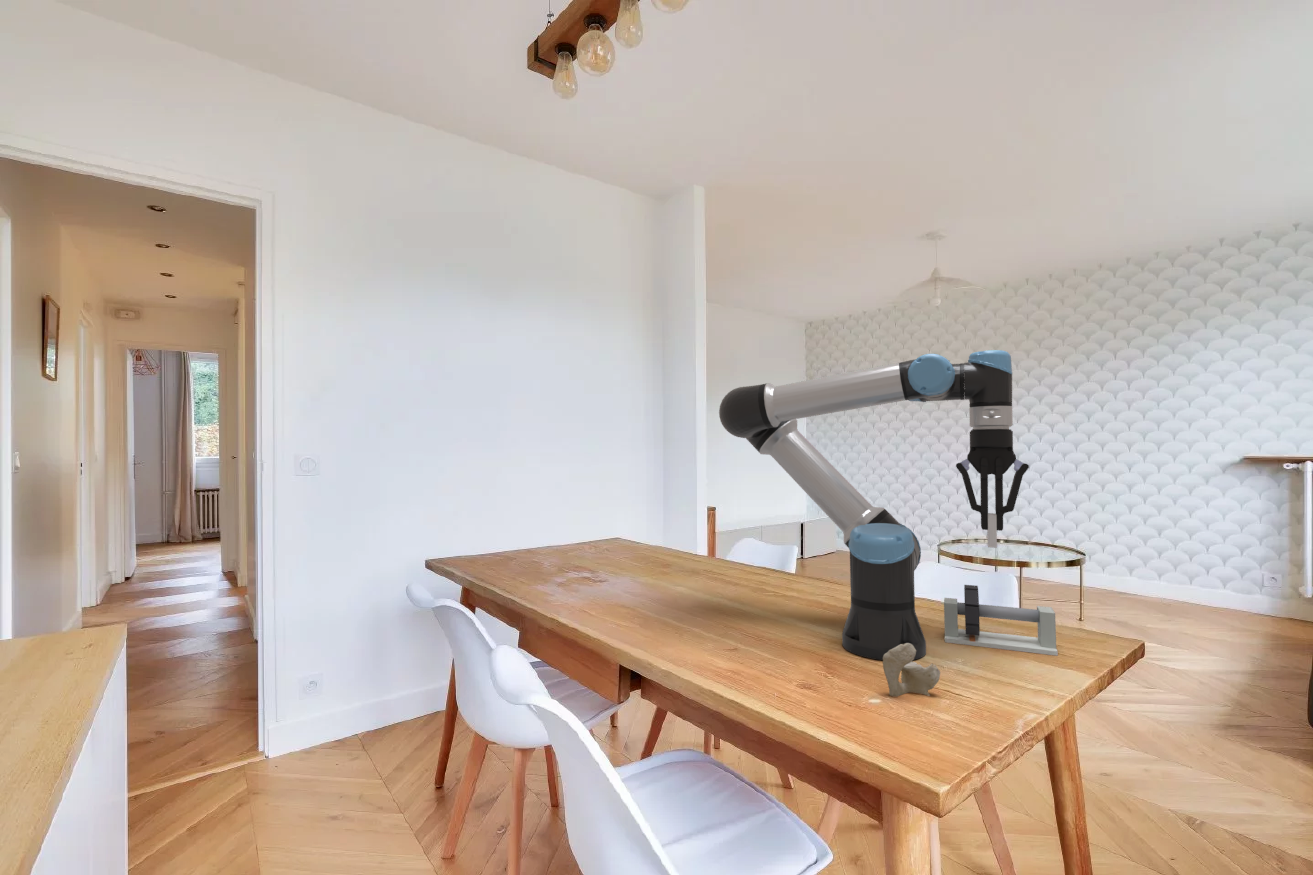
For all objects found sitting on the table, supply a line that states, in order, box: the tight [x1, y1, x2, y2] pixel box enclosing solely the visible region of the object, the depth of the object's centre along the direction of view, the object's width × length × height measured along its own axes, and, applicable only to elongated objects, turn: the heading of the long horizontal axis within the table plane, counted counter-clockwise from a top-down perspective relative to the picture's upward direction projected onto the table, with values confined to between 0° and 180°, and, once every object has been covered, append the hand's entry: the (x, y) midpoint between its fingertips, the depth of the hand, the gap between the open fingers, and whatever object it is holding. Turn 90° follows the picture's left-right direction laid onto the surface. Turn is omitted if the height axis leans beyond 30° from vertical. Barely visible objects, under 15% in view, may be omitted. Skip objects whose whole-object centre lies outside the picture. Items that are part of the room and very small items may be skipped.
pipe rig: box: [943, 597, 1059, 656], centre depth 117 cm, size 19×8×7 cm, turn 63°
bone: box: [882, 643, 941, 698], centre depth 93 cm, size 9×6×10 cm
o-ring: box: [963, 584, 981, 636], centre depth 119 cm, size 2×9×9 cm, turn 153°
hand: (992, 546), depth 118 cm, fingers closed
